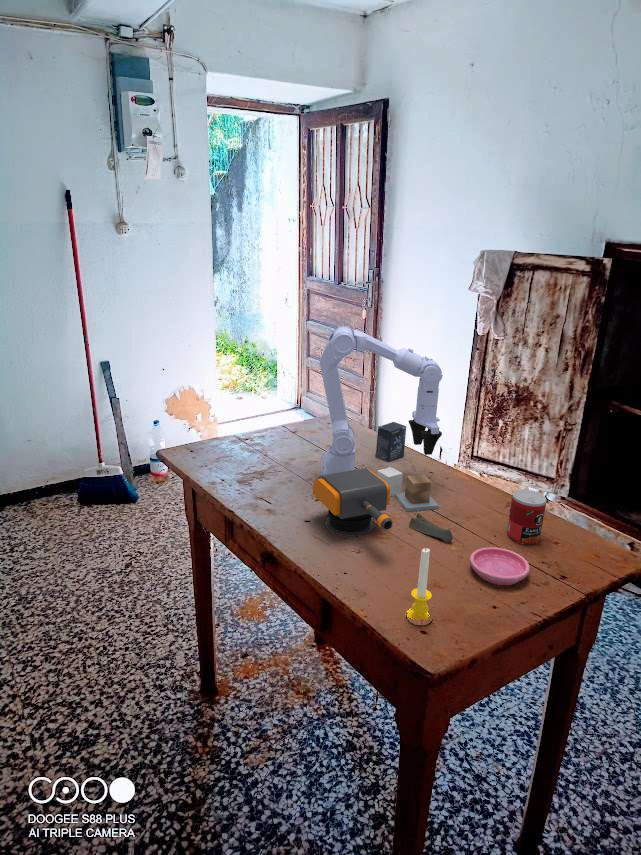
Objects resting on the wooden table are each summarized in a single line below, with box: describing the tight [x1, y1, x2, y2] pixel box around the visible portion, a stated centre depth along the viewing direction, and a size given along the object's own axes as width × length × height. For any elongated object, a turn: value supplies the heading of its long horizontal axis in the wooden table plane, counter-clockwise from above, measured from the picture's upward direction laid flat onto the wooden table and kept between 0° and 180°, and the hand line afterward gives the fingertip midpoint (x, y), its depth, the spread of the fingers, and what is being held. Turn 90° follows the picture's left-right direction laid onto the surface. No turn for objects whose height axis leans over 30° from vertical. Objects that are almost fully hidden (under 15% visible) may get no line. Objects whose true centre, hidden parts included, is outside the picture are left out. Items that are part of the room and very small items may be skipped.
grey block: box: [376, 466, 403, 497], centre depth 166 cm, size 5×5×6 cm
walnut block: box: [404, 474, 432, 504], centre depth 159 cm, size 5×5×6 cm
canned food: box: [506, 489, 547, 545], centre depth 143 cm, size 8×8×11 cm
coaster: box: [394, 491, 439, 513], centre depth 160 cm, size 9×9×1 cm
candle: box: [406, 547, 433, 620], centre depth 112 cm, size 5×5×16 cm
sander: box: [312, 467, 393, 537], centre depth 142 cm, size 15×25×13 cm, turn 25°
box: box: [375, 421, 407, 463], centre depth 189 cm, size 8×6×11 cm
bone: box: [408, 512, 453, 544], centre depth 145 cm, size 13×5×4 cm, turn 31°
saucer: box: [469, 546, 531, 586], centre depth 129 cm, size 12×12×3 cm
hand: (422, 449), depth 169 cm, fingers open, 7 cm apart
